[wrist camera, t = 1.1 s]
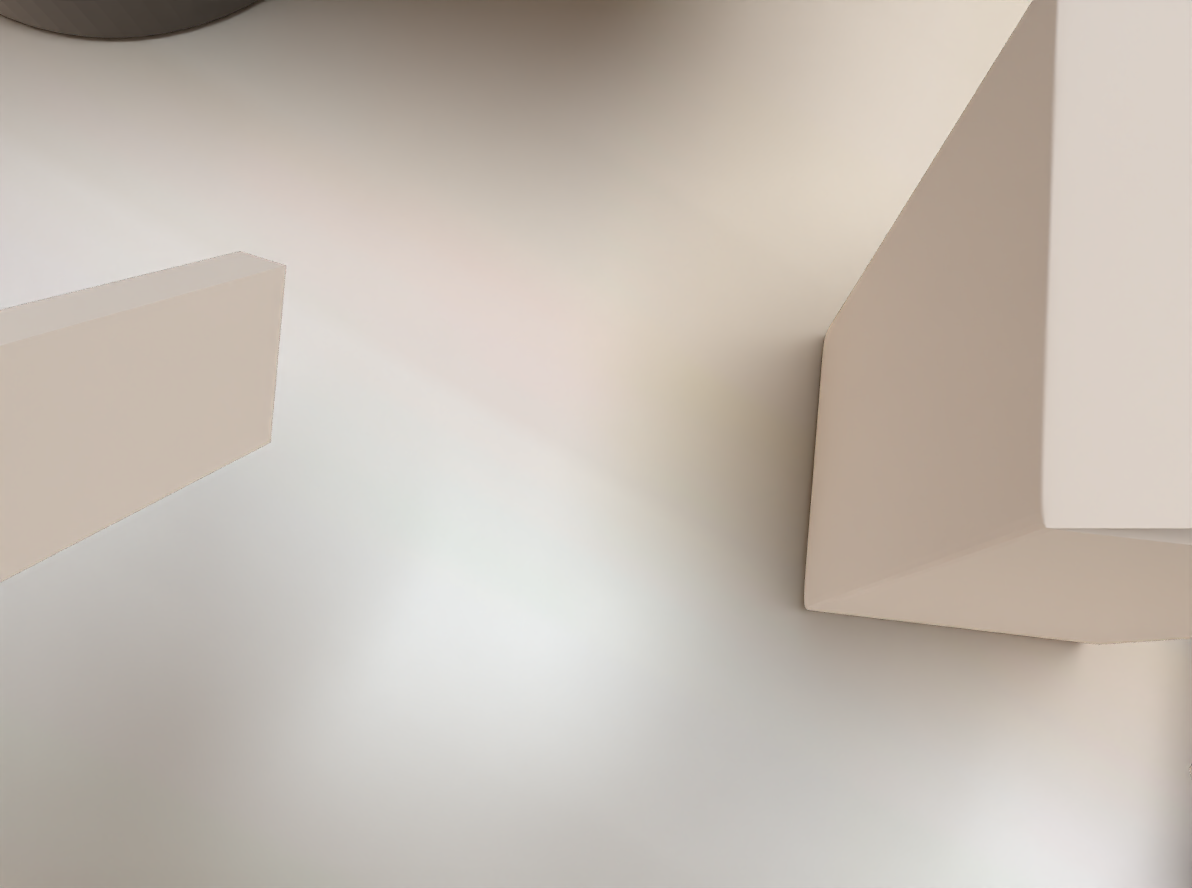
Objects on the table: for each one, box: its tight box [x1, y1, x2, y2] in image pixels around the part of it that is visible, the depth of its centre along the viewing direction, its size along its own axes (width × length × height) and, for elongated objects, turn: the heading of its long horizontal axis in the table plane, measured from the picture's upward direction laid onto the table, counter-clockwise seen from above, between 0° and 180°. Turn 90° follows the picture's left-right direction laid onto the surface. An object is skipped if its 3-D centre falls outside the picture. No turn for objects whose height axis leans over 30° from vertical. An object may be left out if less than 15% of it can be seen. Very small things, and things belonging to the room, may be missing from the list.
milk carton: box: [804, 0, 1192, 645], centre depth 18 cm, size 7×7×19 cm
